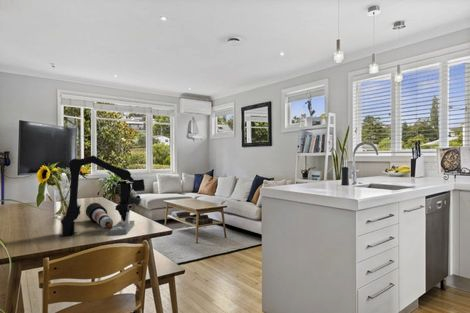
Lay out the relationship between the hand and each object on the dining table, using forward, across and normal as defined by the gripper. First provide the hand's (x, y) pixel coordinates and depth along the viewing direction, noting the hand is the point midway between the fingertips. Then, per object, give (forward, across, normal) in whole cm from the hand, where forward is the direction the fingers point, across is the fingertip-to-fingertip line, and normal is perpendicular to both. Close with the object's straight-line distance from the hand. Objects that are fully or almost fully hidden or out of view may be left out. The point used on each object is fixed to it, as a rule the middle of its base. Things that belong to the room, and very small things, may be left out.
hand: (125, 219), depth 169 cm
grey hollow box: (+5, -6, 0) cm, 8 cm away
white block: (+4, 0, 0) cm, 4 cm away
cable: (+5, +12, +16) cm, 21 cm away
